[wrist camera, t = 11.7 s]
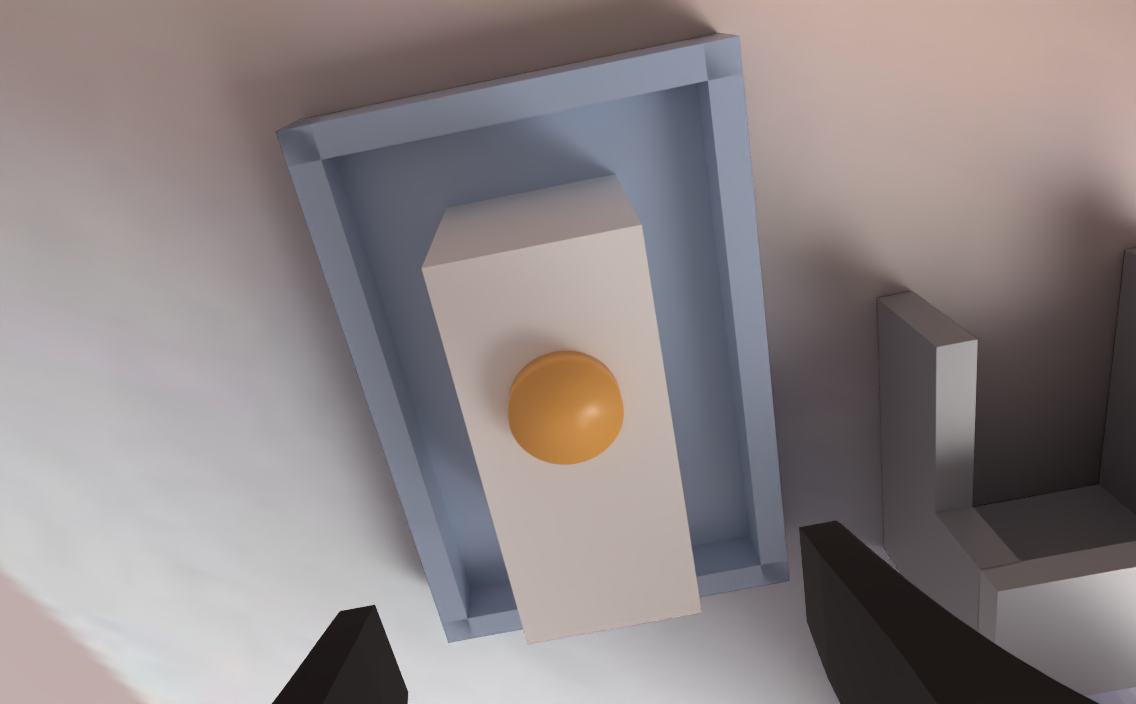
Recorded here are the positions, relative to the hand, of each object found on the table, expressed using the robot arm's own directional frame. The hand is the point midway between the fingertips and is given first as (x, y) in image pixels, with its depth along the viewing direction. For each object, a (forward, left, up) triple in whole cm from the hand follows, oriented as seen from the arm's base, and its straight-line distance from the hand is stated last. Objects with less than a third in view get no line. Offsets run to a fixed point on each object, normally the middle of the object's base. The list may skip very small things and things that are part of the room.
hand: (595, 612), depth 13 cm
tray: (0, 0, -10) cm, 10 cm away
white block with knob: (0, 0, -10) cm, 10 cm away
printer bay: (-4, -13, -10) cm, 17 cm away
